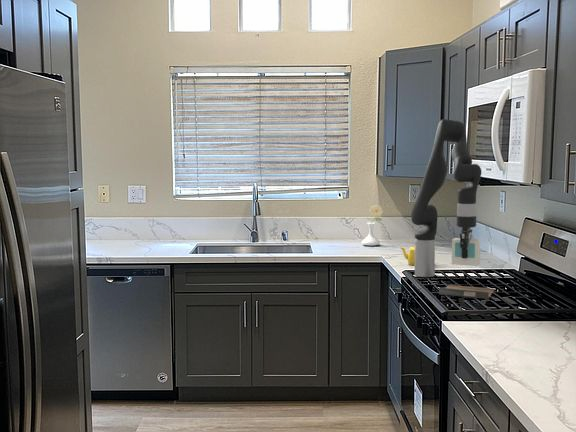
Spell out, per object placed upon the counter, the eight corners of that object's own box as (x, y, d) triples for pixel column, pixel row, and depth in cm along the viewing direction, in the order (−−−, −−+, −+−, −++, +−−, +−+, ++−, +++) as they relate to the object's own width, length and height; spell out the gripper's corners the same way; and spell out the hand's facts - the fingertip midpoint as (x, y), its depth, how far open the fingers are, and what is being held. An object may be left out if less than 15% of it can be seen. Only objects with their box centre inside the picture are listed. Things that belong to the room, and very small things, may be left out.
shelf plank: (448, 288, 265) (448, 279, 265) (495, 292, 257) (495, 282, 256) (438, 297, 249) (439, 288, 249) (488, 302, 241) (488, 292, 240)
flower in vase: (360, 246, 377) (360, 205, 374) (363, 243, 388) (363, 203, 385) (381, 247, 373) (381, 205, 370) (384, 244, 384) (384, 204, 381)
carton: (454, 262, 252) (454, 237, 251) (479, 263, 248) (480, 239, 247) (451, 264, 247) (452, 239, 246) (477, 266, 243) (478, 240, 242)
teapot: (417, 267, 311) (418, 248, 310) (397, 263, 322) (398, 245, 321) (438, 264, 319) (438, 245, 318) (417, 260, 330) (417, 242, 329)
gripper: (473, 217, 237) (472, 260, 239) (479, 213, 250) (478, 254, 252) (453, 216, 241) (452, 259, 242) (460, 212, 253) (459, 253, 255)
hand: (465, 256), depth 247 cm, fingers closed on carton, 5 cm apart
